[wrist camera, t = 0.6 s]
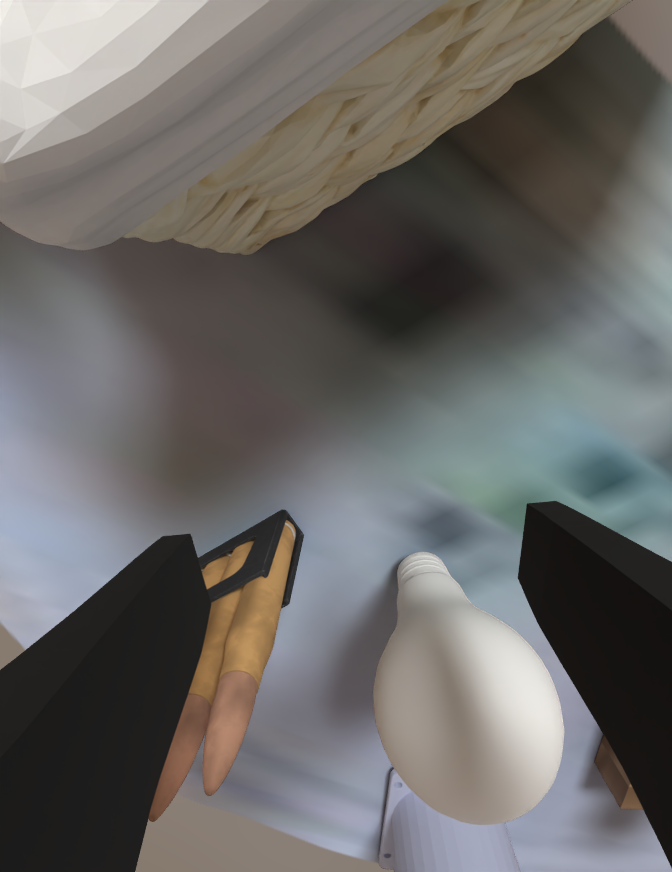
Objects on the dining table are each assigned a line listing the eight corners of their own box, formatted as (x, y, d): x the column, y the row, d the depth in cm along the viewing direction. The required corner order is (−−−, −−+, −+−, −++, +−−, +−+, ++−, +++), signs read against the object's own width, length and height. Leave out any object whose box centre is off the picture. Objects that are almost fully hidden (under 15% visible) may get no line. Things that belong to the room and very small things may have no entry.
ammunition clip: (285, 507, 20) (217, 755, 9) (305, 534, 21) (264, 803, 9) (126, 599, 22) (-100, 904, 11) (148, 622, 23) (-47, 938, 11)
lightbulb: (488, 591, 22) (627, 849, 11) (383, 623, 23) (421, 895, 12) (457, 496, 20) (587, 696, 10) (344, 534, 21) (350, 759, 10)
